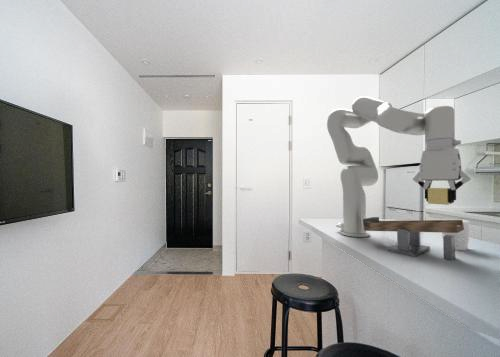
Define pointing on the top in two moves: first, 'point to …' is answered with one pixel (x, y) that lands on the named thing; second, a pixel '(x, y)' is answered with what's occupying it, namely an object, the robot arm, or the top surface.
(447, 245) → the block
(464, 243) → the white cup
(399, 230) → the pivot stand
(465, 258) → the top surface
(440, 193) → the block
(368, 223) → the beam
